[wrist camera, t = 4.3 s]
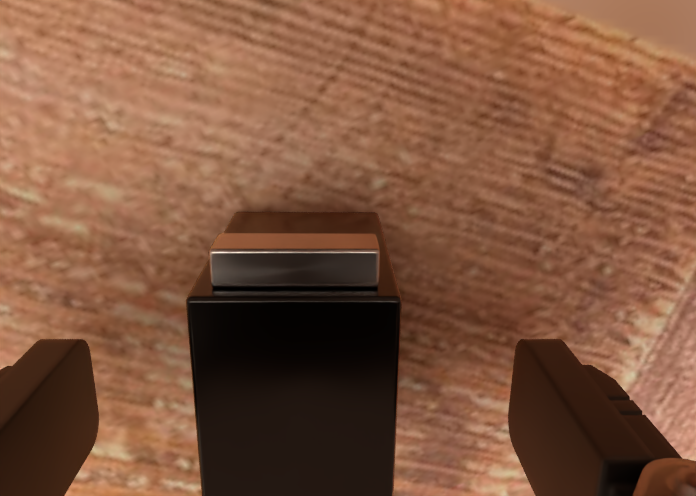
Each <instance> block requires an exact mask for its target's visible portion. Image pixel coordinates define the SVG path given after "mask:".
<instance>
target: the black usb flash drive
mask: <svg viewBox="0 0 696 496" xmlns="http://www.w3.org/2000/svg"><path fill="white" fill-rule="evenodd" d="M401 305H402V300H401V296H400V293H399V289H398V285H397V282H396V278H395V275H394V271H393V267H392V264H391V260H390V256H389V253H388V249H387V245H386V242H385V238H384V234H383V231H382V227H381V224H380V220H379V216H378V214H377V213H364V212H237V213H235V214H234V216H233V217H232V219H231V221H230V223H229V224H228V226H227V228H226V230H225V231H224V233H221V234H218V236H217V238H216V239H215V241H214V243H213V244H212V246H211V248H210V250H209V260H208V261H207V263H206V265H205V267H204V268H203V270H202V272H201V274H200V276H199V277H198V279H197V281H196V283H195V284H194V286H193V288H192V290H191V291H190V293H189V295H188V297H187V299H186V308H187V320H188V332H189V345H190V357H191V369H192V381H193V393H194V405H195V417H196V429H197V441H198V453H199V465H200V477H201V489H202V496H393V491H394V468H395V445H396V421H397V398H398V375H399V352H400V328H401Z"/></svg>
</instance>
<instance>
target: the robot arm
mask: <svg viewBox="0 0 696 496" xmlns="http://www.w3.org/2000/svg"><path fill="white" fill-rule="evenodd" d="M508 423H509V433H510V438H511V442H512V445H513V447H514V450H515V452H516V454H517V456H518V458H519V461H520V463H521V465H522V467H523V469H524V471H525V474H526V476H527V478H528V480H529V482H530V485H531V487H532V489H533V491H534V493H535V496H696V461H692V460H687V459H682V457H681V456H680V455H679V454H678V453H677V452H676V450H675V449H674V448H673V447H672V446H671V445H670V443H669V442H668V441H667V440H666V439H665V438H664V436H663V435H662V434H661V433H660V432H659V431H658V429H657V428H656V427H655V426H654V425H653V424H652V422H651V421H650V420H649V419H648V418H647V417H646V415H642V411H641V410H640V408H639V407H638V406H637V405H636V404H635V403H634V401H633V400H630V397H629V396H628V394H627V393H626V392H625V391H624V390H623V389H622V387H621V386H620V385H619V384H618V383H617V382H616V380H614V379H613V378H611V377H610V376H608V375H606V374H605V373H603V372H602V371H600V370H598V369H597V368H595V367H593V366H592V365H582V364H581V363H580V362H579V361H578V359H577V358H576V357H575V356H574V354H573V353H572V352H571V350H570V349H569V348H568V347H567V345H566V344H565V343H564V342H563V341H562V340H561V339H521V340H519V341H518V343H517V346H516V349H515V357H514V366H513V375H512V384H511V393H510V402H509V412H508ZM98 425H99V412H98V405H97V397H96V390H95V383H94V376H93V368H92V361H91V354H90V349H89V346H88V344H87V342H86V341H85V340H83V339H41V340H39V341H37V342H36V343H35V344H34V345H33V346H32V347H31V348H30V349H29V350H28V351H27V352H26V353H25V354H24V355H23V356H22V357H21V358H20V359H19V360H18V361H17V362H16V363H15V364H14V365H13V366H7V367H5V368H3V369H1V370H0V496H64V495H65V493H66V492H67V490H68V488H69V487H70V485H71V483H72V482H73V480H74V478H75V477H76V475H77V473H78V472H79V470H80V468H81V467H82V465H83V463H84V461H85V460H86V458H87V456H88V455H89V453H90V451H91V450H92V448H93V446H94V443H95V440H96V437H97V432H98Z"/></svg>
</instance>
